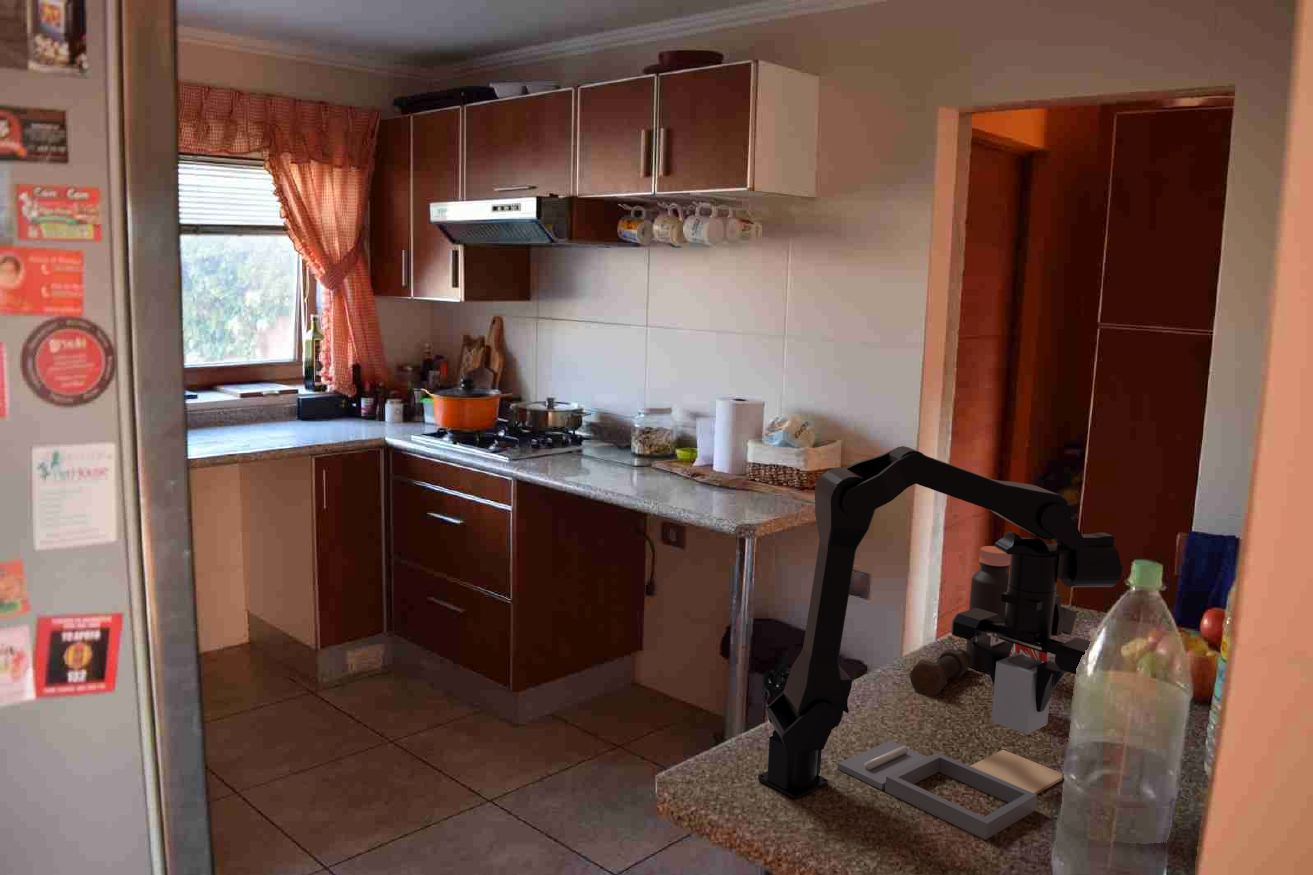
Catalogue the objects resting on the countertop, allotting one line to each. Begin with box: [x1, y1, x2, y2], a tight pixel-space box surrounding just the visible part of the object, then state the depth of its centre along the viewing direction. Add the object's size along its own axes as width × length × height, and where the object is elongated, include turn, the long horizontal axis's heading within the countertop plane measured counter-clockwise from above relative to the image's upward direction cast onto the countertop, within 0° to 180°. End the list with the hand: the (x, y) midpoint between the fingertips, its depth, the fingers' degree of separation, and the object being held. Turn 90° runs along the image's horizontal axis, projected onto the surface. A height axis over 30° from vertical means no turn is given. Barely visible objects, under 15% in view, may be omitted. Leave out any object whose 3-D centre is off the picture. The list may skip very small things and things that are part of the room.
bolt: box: [908, 648, 972, 698], centre depth 163 cm, size 6×5×15 cm
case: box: [837, 740, 1038, 841], centre depth 127 cm, size 11×22×2 cm, turn 41°
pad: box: [970, 749, 1063, 795], centre depth 132 cm, size 9×9×1 cm
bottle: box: [965, 545, 1011, 673], centre depth 169 cm, size 7×7×20 cm
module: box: [990, 654, 1051, 735], centre depth 130 cm, size 5×5×8 cm
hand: (1020, 704), depth 131 cm, fingers closed on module, 5 cm apart
